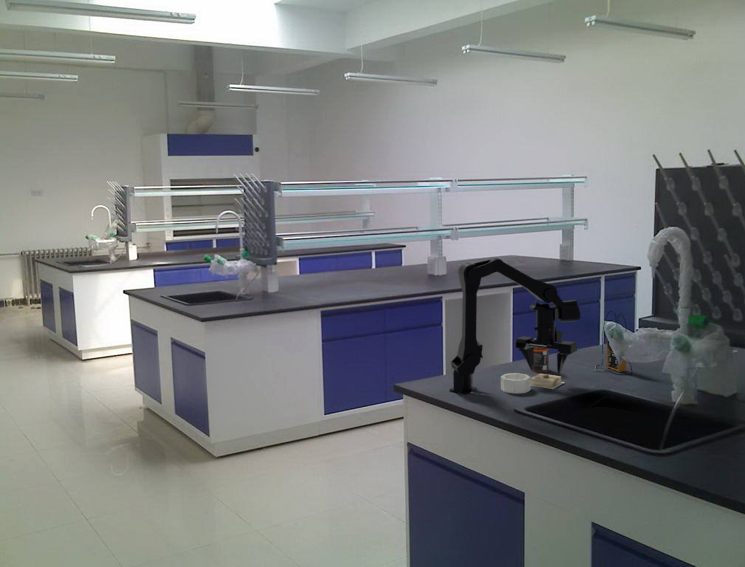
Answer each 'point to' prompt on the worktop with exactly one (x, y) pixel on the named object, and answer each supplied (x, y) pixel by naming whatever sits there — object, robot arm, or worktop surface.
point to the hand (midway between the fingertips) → (545, 371)
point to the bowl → (515, 383)
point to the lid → (545, 380)
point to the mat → (549, 387)
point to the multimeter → (613, 356)
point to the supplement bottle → (540, 359)
